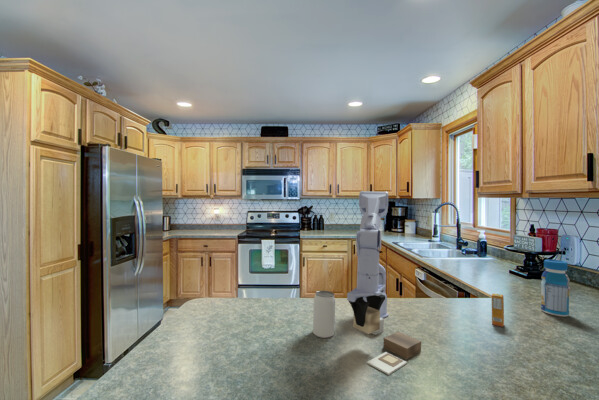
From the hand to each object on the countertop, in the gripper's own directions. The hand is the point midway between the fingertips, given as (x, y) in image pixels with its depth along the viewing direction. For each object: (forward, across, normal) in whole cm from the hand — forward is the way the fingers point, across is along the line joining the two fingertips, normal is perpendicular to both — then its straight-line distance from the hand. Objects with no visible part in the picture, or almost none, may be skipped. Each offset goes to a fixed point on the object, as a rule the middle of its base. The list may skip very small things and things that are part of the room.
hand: (366, 322), depth 78 cm
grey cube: (+7, +11, +5) cm, 14 cm away
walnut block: (+7, +8, -6) cm, 12 cm away
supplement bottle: (+7, +82, -27) cm, 87 cm away
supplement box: (+7, +50, -17) cm, 53 cm away
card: (+7, -2, -8) cm, 11 cm away
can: (+7, -3, +13) cm, 15 cm away
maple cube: (+2, 0, 0) cm, 2 cm away
